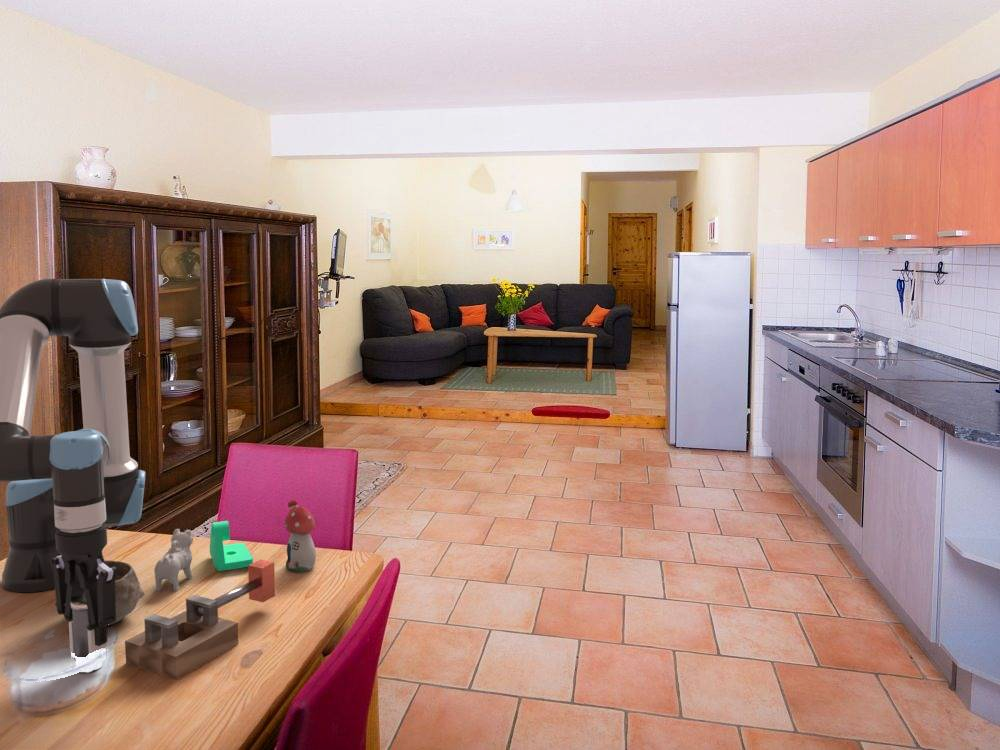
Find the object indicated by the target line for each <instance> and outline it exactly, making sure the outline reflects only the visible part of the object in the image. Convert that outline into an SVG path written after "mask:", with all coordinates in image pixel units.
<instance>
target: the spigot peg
mask: <svg viewBox="0 0 1000 750" xmlns="http://www.w3.org/2000/svg"><path fill="white" fill-rule="evenodd" d="M70 604H71V609H72V614H73V630H74V646H75V656H77V657H86V656H87V655H88V654H89V647H88V631H87V627H88V626H91V623H90V618H89V613H88V608H87V603H86V598H85V595H83V596H80V597H78V598H76V599H73V600H72V601H71V602H70Z"/></svg>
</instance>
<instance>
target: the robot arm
mask: <svg viewBox="0 0 1000 750" xmlns="http://www.w3.org/2000/svg"><path fill="white" fill-rule="evenodd" d="M138 333H139V326H138V317H137V311H136V306H135V301H134V297H133V293H132V290H131V288H130V286H129V284H128V283H127V282H126V281H124V280H119V279H107V278H56V279H55V278H42V279H37V280H35V281H32V282H30V283H27V284H26V285H24V286H22V287H21V288H19V289H18V290H16V291H15V292H13V294H11V295H10V296H9V297H8V298H7V299H6V300H5V301H4V303H2V305H1V306H0V483H5V482H9V483H8V484H7V486H6V487H5V489H6V490H5V503H4V504H5V507H6V519H7V529H8V531H7V532H8V542H9V543H8V544H9V545H8V546H9V549H8V550H9V551H8V553H7V557H6V559H5V564H4V568H3V571H2V573H1V583H2V588H3V589H4V590H6V591H10V592H14V593H35V592H44V591H49V590H53V589H54V592H55V603H56V605H57V607H56V612H57V614H58V615H60V616H61V615H62V616H64V620H66V621H67V634H68V637H69V651H70V652H72V653H75V646H74V630H73V614H72V609H71V604H70V602H71V601H72V600H73V599H76V598H78V597H80V596H83V595H84V592H85V598H86V603H87V608H88V613H89V618H90V623H91V626H88V627H87V631H88V647H89V653H92V652H94V651H96V650H99V649H101V648H105V647H106V648H107V642H108V635H107V634H108V633H107V625H108V624H110V623H112V622H115V621H116V601H115V578H116V574H117V568H116V567H115V566H114V567H111V568H109V567H108V566H107V565H105V564H104V563H105V561H106V560H105V558H104V555H103V550H104V549H105V547H106V546H107V544H108V532H107V531H108V530H107V528H109V527H120V526H125V525H131V524H132V525H133V524H136V523H137V522H139V521H140V519H141V518H142V512H143V505H144V501H143V500H144V493H145V484H146V483H145V482H146V474H147V473H146V471H145V470H142V469H139V464H138V462H137V461H136V460H135V459H134V458H132V457H131V456H130V455H131V454H130V453H131V452H130V451H131V450H130V439H129V438H130V436H129V419H128V404H127V403H128V402H127V400H128V399H127V386H126V385H127V383H126V367H125V350H126V349H128V347H129V346H130V345H131V344H132V336H133V337H134V336H136V335H138ZM54 336H55V337H68V342H69V343H68V344H69V346H70V347H71V349H73V350H75V351H76V352H77V354H78V368H79V381H80V382H79V383H80V397H81V411H82V425H83V427H82V428H81V429H78V430H75V431H65V432H61V433H59V434H44V435H31V431H32V424H33V415H34V408H35V401H36V395H37V387H38V386H37V385H38V379H39V372H40V366H41V359H42V353H43V352H42V350H43V348H44V347H45V346H46V345H47V344H48V343H49V340H50V337H54ZM94 579H95V580H94ZM91 580H92V581H91ZM89 581H90V582H89ZM64 604H65V606H64ZM56 605H55V606H56ZM108 626H109V625H108Z"/></svg>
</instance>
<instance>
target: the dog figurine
mask: <svg viewBox="0 0 1000 750" xmlns="http://www.w3.org/2000/svg"><path fill="white" fill-rule="evenodd" d="M193 541H194V537H193V535H192V531H191V529H185V531H184V532H183V531H182V532H181V531H180V528H175V529H174V530H173V532H172V536H171V538H170V542H171V543H170V545H171V546H170V548H168V550H167V551H166V553H164V555H163V557H162V558H160V559H159V560H158V561H157V562H156V564H155V566H154V580H155V591H156V592H160V591H161V590H162V588H161V586H162V583H163V582H162V581H163V580H167V581H168V582H169V583H171V584H172V591H173V592H178V591H180V586H179V573H180V572H181V571H182V572H183V573H184V575H185V579H187V580H192V579H193V575H192V572H191V565H192V564H191V563H192V560H193V555H192V550H191V549H190V548H191V546H192V544H193Z"/></svg>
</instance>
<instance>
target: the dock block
mask: <svg viewBox="0 0 1000 750" xmlns="http://www.w3.org/2000/svg"><path fill="white" fill-rule="evenodd" d="M200 606H202V609H203V616H202V617H199V616H198V615H197V614H196V609H197V608H198V607H200ZM185 607H186V608H185V611H183V612H181V613H178V614H176V615H175V616H173V617H166V616H163V615H158V614H156V613H153V614H152V615H149V616H147V617H144V620H143V621H144V631H142V632H139V633H138V634H136V635H134V636H132V637H130V638H127V639H125V640H124V650H125V651H124V652H125V653H124V654H125V663H126V664H128V665H130V666H131V665H132V666H135V667H136V668H137V667H138V668H139V669H140V668H141V669H144V670H147V671H149V672H152V673H156V674H160V675H162V676H166V677H168V678H172V679H175V680H178V679H180V678H182V677H183V676H185V675H187V674H189V673H191V672H192V671H194V670H196V669H197V668H199V667H200V666H202V665H204V664H206V663H207V662H210V661H211V660H213V659H214V658H216V657H218V656H220V655H221V654H224V652H227V651H228V650H229V649H231V648H233V647H235V646H237V645H238V644H239V626H238V625H239V622H236V621H232V620H229V619H226V618H221V617H219V612H218V611H219V610H218V609H219V608H218V603H217V601H216V600H214V599H213V598H208V597H205V596H201V595H196V594H193V595H191V596H189V597H187V598H185Z"/></svg>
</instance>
